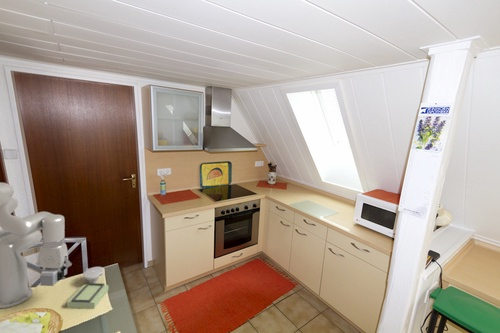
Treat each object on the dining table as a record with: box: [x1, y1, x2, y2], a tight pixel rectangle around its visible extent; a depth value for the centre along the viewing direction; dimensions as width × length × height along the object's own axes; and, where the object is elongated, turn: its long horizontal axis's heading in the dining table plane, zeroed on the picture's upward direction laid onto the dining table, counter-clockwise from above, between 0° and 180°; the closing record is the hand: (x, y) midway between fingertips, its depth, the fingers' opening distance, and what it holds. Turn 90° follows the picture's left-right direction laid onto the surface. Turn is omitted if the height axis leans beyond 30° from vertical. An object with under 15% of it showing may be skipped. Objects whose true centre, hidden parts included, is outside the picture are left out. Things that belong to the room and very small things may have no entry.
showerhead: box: [82, 266, 105, 283], centre depth 121 cm, size 9×7×10 cm
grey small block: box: [40, 263, 68, 287], centre depth 104 cm, size 5×9×6 cm, turn 5°
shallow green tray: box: [66, 282, 109, 309], centre depth 110 cm, size 12×12×4 cm
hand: (54, 278), depth 104 cm, fingers closed on grey small block, 5 cm apart
